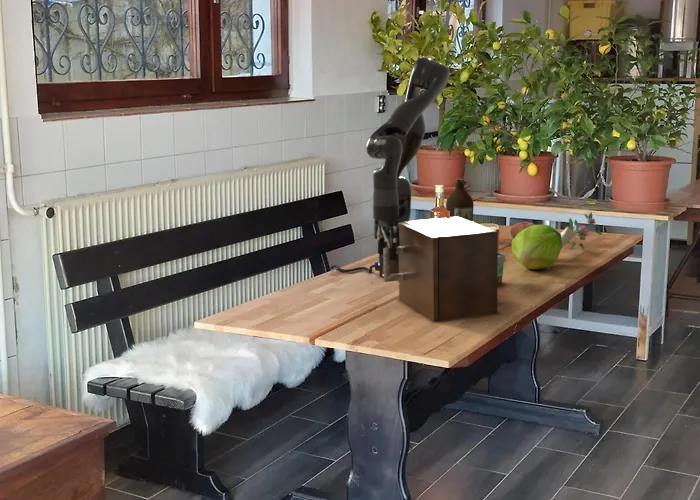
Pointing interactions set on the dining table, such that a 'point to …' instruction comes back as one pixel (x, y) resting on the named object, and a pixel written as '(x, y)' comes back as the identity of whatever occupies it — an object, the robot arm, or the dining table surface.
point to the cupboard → (464, 266)
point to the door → (416, 270)
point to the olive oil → (460, 202)
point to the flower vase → (582, 231)
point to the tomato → (519, 228)
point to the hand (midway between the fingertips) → (387, 257)
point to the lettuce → (537, 246)
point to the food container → (500, 268)
